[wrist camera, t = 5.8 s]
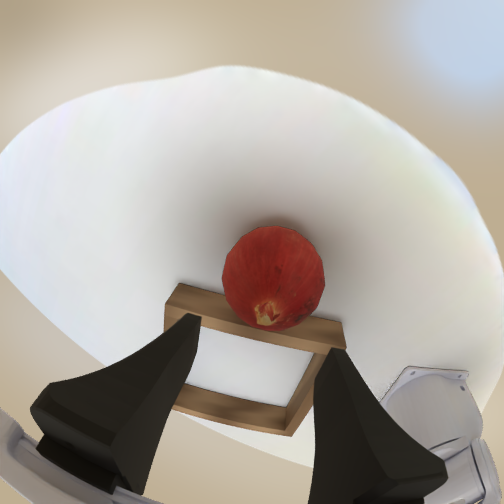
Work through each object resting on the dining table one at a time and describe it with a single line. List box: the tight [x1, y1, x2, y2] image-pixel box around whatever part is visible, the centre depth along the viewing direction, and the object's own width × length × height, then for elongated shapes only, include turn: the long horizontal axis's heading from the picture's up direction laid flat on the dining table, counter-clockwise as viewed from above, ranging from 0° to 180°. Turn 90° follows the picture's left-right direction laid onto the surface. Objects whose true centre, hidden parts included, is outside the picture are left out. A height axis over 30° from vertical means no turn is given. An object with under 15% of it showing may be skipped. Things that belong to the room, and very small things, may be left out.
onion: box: [222, 226, 325, 331], centre depth 16 cm, size 6×6×8 cm
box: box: [164, 283, 347, 437], centre depth 23 cm, size 13×13×3 cm
